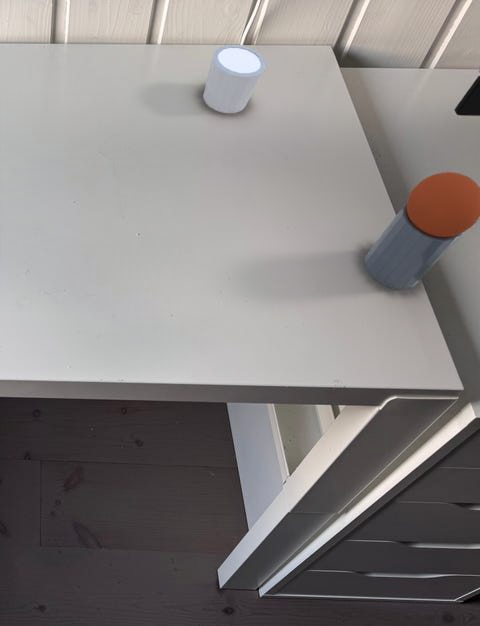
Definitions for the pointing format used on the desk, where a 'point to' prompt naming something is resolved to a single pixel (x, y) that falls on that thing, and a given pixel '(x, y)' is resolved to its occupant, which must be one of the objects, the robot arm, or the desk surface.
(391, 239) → the cup
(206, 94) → the white cylinder
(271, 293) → the desk surface
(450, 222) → the ball
